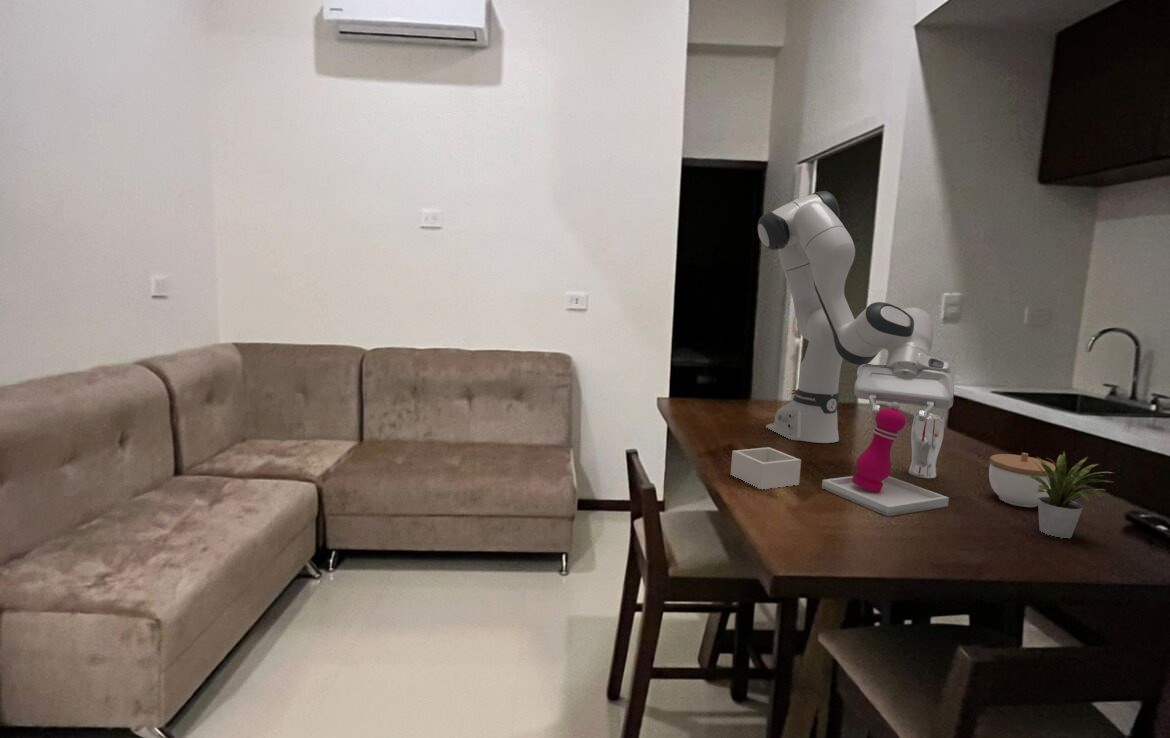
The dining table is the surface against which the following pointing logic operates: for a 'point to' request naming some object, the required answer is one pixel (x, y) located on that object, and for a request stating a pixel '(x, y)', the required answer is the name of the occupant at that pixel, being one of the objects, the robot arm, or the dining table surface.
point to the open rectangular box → (765, 468)
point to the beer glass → (926, 445)
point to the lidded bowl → (1017, 478)
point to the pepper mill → (879, 450)
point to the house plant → (1063, 497)
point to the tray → (887, 496)
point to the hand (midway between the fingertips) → (898, 416)
